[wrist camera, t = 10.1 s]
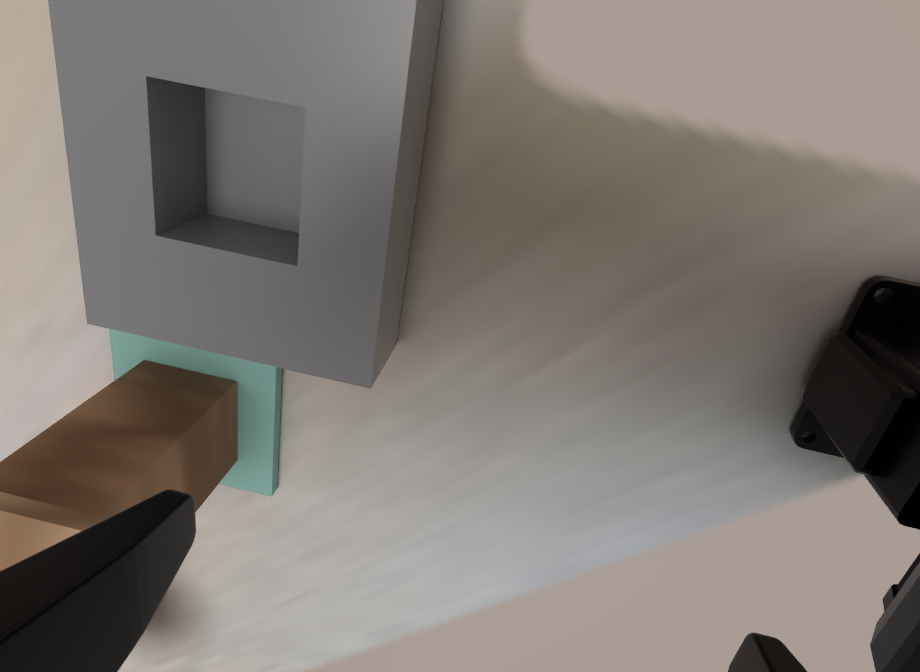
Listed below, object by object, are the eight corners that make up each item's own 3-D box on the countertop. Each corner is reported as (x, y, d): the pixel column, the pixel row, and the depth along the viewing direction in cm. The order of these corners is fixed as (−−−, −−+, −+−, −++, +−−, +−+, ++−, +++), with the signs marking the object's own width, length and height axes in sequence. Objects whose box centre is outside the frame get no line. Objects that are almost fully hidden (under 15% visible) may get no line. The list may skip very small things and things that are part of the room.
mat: (282, 352, 24) (276, 358, 23) (277, 487, 27) (271, 496, 26) (118, 314, 24) (108, 320, 24) (131, 452, 27) (122, 460, 27)
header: (445, -15, 17) (420, -33, 14) (396, 343, 23) (370, 388, 20) (126, -73, 18) (35, -102, 15) (150, 288, 23) (87, 323, 20)
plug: (240, 379, 24) (85, 531, 16) (239, 462, 26) (101, 635, 18) (141, 356, 24) (-57, 496, 16) (148, 440, 26) (-27, 601, 18)
